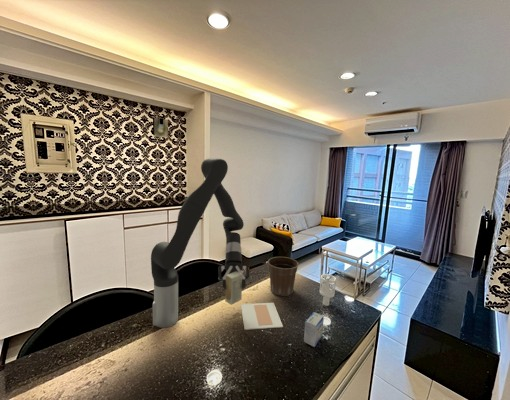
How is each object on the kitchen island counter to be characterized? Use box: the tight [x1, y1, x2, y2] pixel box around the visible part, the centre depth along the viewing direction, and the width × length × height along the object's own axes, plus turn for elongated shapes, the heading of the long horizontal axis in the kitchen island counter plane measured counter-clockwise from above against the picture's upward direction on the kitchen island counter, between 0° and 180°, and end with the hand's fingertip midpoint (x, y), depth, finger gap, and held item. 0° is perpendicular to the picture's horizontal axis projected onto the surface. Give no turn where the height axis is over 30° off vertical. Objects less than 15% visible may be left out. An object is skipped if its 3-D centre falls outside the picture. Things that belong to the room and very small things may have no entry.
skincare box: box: [224, 271, 243, 306], centre depth 99 cm, size 6×4×12 cm
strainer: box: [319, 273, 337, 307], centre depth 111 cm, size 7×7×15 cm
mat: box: [240, 302, 284, 331], centre depth 101 cm, size 16×17×1 cm
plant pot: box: [267, 256, 299, 297], centre depth 122 cm, size 16×16×16 cm
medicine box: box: [303, 311, 325, 348], centre depth 88 cm, size 8×4×9 cm, turn 143°
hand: (233, 289), depth 98 cm, fingers closed on skincare box, 7 cm apart
